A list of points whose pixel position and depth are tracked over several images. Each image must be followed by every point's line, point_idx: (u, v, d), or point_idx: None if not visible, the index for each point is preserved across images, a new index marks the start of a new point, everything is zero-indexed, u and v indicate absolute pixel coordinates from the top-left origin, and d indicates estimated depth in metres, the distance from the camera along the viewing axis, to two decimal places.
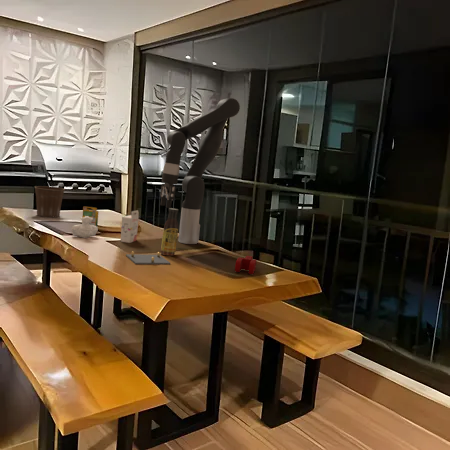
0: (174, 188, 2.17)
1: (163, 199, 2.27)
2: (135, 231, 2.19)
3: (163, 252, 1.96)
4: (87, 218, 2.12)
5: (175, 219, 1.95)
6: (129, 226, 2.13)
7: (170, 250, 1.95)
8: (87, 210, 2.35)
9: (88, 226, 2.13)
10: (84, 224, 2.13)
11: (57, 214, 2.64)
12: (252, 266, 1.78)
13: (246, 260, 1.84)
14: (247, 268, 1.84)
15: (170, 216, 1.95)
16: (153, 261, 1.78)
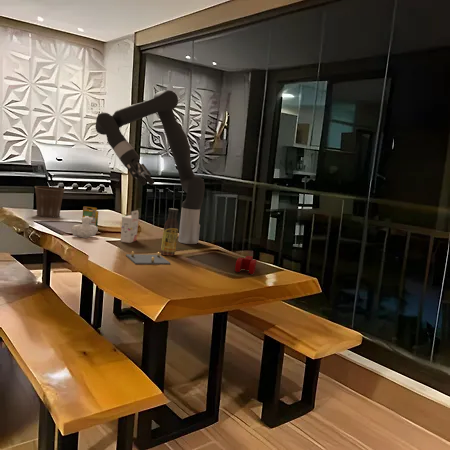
0: (129, 165, 1.91)
1: (147, 178, 2.01)
2: (135, 231, 2.19)
3: (163, 252, 1.96)
4: (87, 218, 2.12)
5: (175, 219, 1.95)
6: (129, 226, 2.13)
7: (170, 250, 1.95)
8: (87, 210, 2.35)
9: (88, 226, 2.13)
10: (84, 224, 2.13)
11: (57, 214, 2.64)
12: (252, 266, 1.78)
13: (246, 260, 1.84)
14: (247, 268, 1.84)
15: (170, 216, 1.95)
16: (153, 261, 1.78)
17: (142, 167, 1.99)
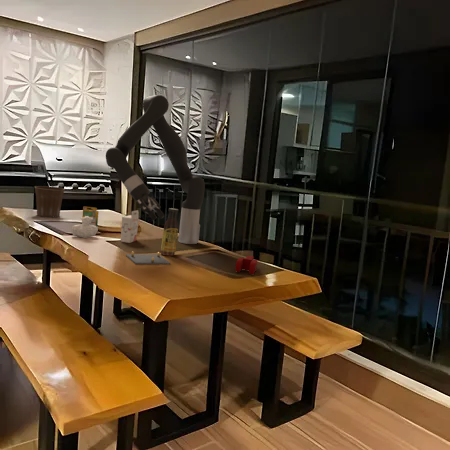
0: (140, 200, 1.92)
1: (158, 212, 2.02)
2: (135, 231, 2.19)
3: (163, 252, 1.96)
4: (87, 218, 2.11)
5: (175, 219, 1.95)
6: (129, 226, 2.13)
7: (170, 250, 1.95)
8: (87, 210, 2.35)
9: (88, 226, 2.13)
10: (84, 224, 2.13)
11: (57, 214, 2.64)
12: (252, 266, 1.78)
13: (247, 260, 1.84)
14: (248, 268, 1.84)
15: (170, 216, 1.95)
16: (153, 261, 1.78)
17: (152, 201, 1.99)
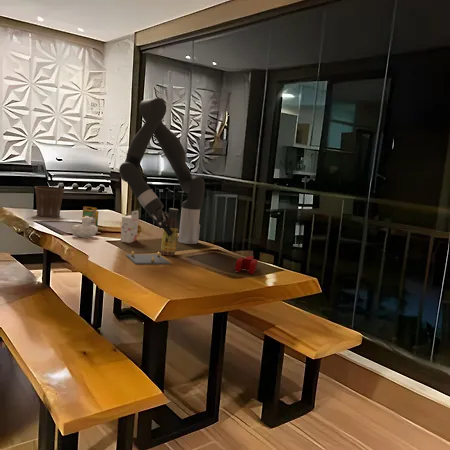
0: (155, 216, 1.91)
1: None
2: (135, 231, 2.19)
3: (163, 252, 1.96)
4: (87, 218, 2.12)
5: (175, 219, 1.95)
6: (129, 226, 2.13)
7: (170, 250, 1.95)
8: (87, 210, 2.35)
9: (88, 226, 2.13)
10: (84, 224, 2.13)
11: (57, 214, 2.64)
12: (252, 266, 1.78)
13: (247, 260, 1.84)
14: (248, 268, 1.85)
15: (170, 216, 1.95)
16: (153, 261, 1.78)
17: (166, 215, 1.98)
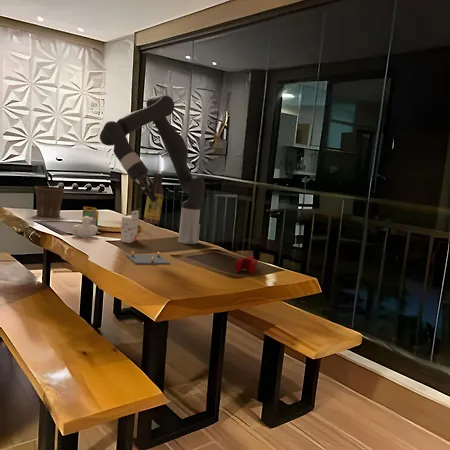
0: (138, 180, 1.77)
1: None
2: (135, 231, 2.19)
3: (146, 220, 1.81)
4: (87, 218, 2.12)
5: (160, 184, 1.81)
6: (129, 226, 2.13)
7: (153, 217, 1.81)
8: (87, 210, 2.35)
9: (88, 226, 2.13)
10: (84, 224, 2.13)
11: (57, 214, 2.64)
12: (253, 266, 1.78)
13: (247, 260, 1.84)
14: (248, 268, 1.85)
15: (154, 181, 1.80)
16: (153, 261, 1.78)
17: (150, 181, 1.84)
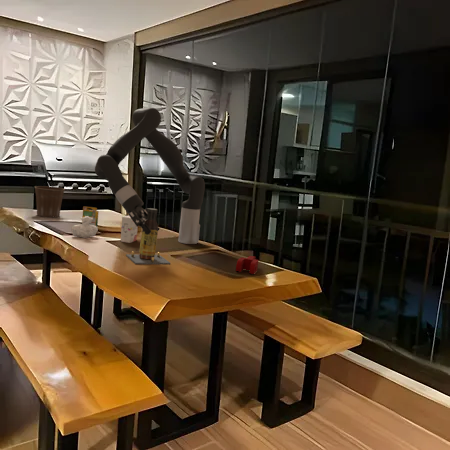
0: (132, 213, 1.76)
1: None
2: (135, 231, 2.19)
3: (141, 256, 1.81)
4: (87, 218, 2.12)
5: (154, 220, 1.81)
6: (129, 226, 2.13)
7: (148, 253, 1.81)
8: (87, 210, 2.35)
9: (88, 226, 2.13)
10: (84, 224, 2.13)
11: (57, 214, 2.64)
12: (253, 266, 1.78)
13: (248, 260, 1.84)
14: (249, 268, 1.85)
15: (149, 217, 1.81)
16: (153, 261, 1.78)
17: (146, 213, 1.84)
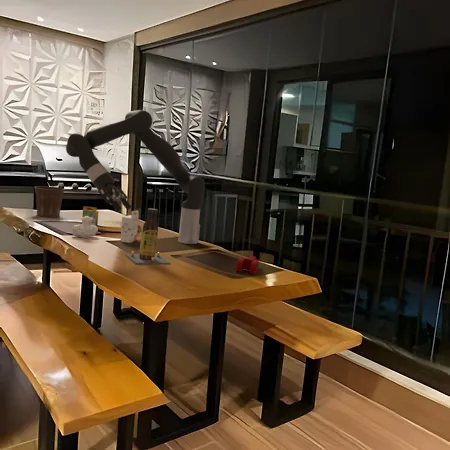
0: (102, 190, 1.78)
1: (124, 203, 1.88)
2: (135, 231, 2.19)
3: (141, 256, 1.81)
4: (87, 218, 2.12)
5: (155, 220, 1.81)
6: (129, 226, 2.13)
7: (149, 253, 1.81)
8: (87, 210, 2.35)
9: (88, 226, 2.13)
10: (84, 224, 2.13)
11: (57, 214, 2.64)
12: (253, 266, 1.78)
13: (248, 260, 1.84)
14: (249, 268, 1.85)
15: (149, 217, 1.81)
16: (153, 261, 1.78)
17: (117, 191, 1.86)
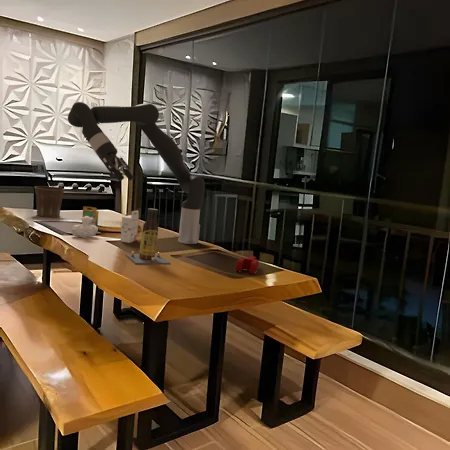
0: (105, 158, 1.77)
1: (126, 173, 1.87)
2: (135, 231, 2.19)
3: (141, 256, 1.81)
4: (87, 218, 2.12)
5: (155, 220, 1.81)
6: (129, 226, 2.13)
7: (149, 253, 1.81)
8: (87, 210, 2.35)
9: (88, 226, 2.13)
10: (84, 224, 2.13)
11: (57, 214, 2.64)
12: (253, 266, 1.78)
13: (248, 260, 1.85)
14: (249, 268, 1.85)
15: (149, 217, 1.81)
16: (153, 261, 1.78)
17: (120, 161, 1.84)
